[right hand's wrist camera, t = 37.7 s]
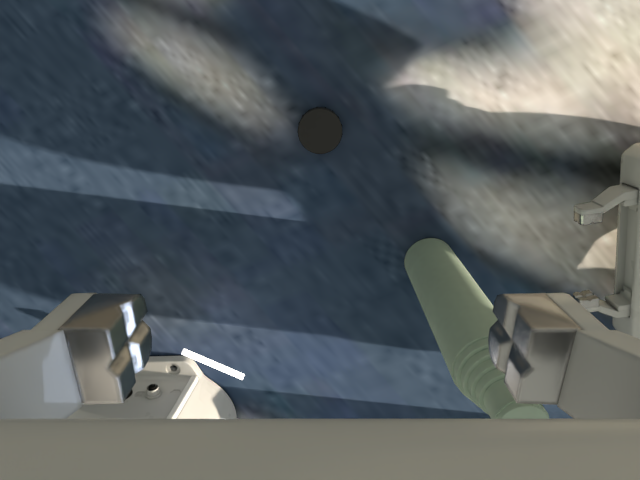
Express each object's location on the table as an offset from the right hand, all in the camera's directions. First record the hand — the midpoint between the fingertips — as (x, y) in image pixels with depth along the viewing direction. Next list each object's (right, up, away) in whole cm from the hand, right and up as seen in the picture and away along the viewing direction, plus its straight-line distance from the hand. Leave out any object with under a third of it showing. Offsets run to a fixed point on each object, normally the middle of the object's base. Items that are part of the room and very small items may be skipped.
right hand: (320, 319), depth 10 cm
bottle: (+12, 0, +38) cm, 40 cm away
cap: (0, +12, +31) cm, 34 cm away
